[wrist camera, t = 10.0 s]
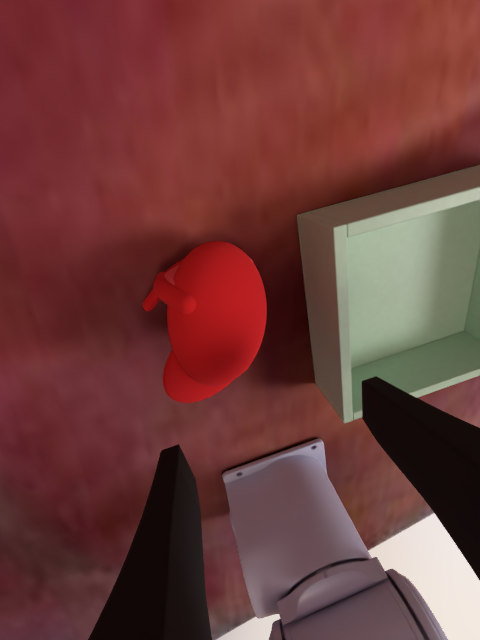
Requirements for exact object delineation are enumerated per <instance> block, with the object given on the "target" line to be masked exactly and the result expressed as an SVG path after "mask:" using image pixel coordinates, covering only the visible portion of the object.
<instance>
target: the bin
mask: <svg viewBox="0 0 480 640" xmlns="http://www.w3.org/2000/svg"><path fill="white" fill-rule="evenodd" d="M297 224H298V233H299V242H300V251H301V259H302V268H303V277H304V286H305V295H306V304H307V313H308V322H309V331H310V340H311V349H312V358H313V366H314V375H315V384H316V385H317V386H318V388H319V389H320V390H321V392H322V393H323V395H324V396H325V397H326V399H327V400H328V402H329V403H330V405H331V406H332V407H333V409H334V410H335V412H336V413H337V414H338V416H339V417H340V419H341V420H342V421H343V423H347V422H350V421H352V420H355V419H358V418H361V417H362V381H363V380H366V379H369V378H372V377H375V376H377V377H379V378H381V379H383V380H384V381H386V382H388V383H390V384H392V385H394V386H395V387H397V388H399V389H401V390H403V391H405V392H407V393H408V394H410V395H412V396H414V397H416V398H417V397H420V396H423V395H426V394H428V393H431V392H434V391H437V390H440V389H443V388H445V387H448V386H451V385H454V384H457V383H459V382H462V381H465V380H468V379H471V378H474V377H476V376H479V375H480V165H477V166H473V167H470V168H466V169H462V170H459V171H455V172H451V173H448V174H444V175H440V176H437V177H433V178H429V179H426V180H422V181H418V182H415V183H411V184H407V185H404V186H400V187H396V188H393V189H389V190H385V191H382V192H378V193H374V194H371V195H367V196H363V197H360V198H356V199H352V200H349V201H345V202H341V203H338V204H334V205H330V206H327V207H323V208H319V209H316V210H312V211H308V212H305V213H301V214H297Z"/></svg>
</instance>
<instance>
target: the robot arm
mask: <svg viewBox="0 0 480 640" xmlns="http://www.w3.org/2000/svg"><path fill="white" fill-rule="evenodd" d="M362 418H363V420H364V422H365V423H366V425H367V426H368V428H369V430H370V431H371V433H372V434H373V436H374V437H375V439H376V440H377V442H378V443H379V444H380V446H381V447H382V448H383V449H384V451H385V452H386V453H387V454H388V455H389V457H390V458H391V459H392V460H393V462H394V463H395V464H396V465H397V466H398V468H399V469H400V470H401V471H402V473H403V474H404V475H405V476H406V477H407V479H408V480H409V481H410V482H411V483H412V485H413V486H414V487H415V488H416V490H417V491H418V492H419V493H420V494H421V496H422V497H423V498H424V499H425V501H426V502H427V503H428V505H429V506H430V507H431V509H432V510H433V511H434V513H435V514H436V516H437V517H438V518H439V520H440V522H441V523H442V524H443V526H444V527H445V529H446V530H447V532H448V533H449V534H450V536H451V537H452V539H453V540H454V542H455V543H456V545H457V546H458V548H459V549H460V551H461V552H462V554H463V555H464V557H465V558H466V560H467V561H468V563H469V564H470V566H471V567H472V569H473V571H474V572H475V574H476V575H477V577H478V578H479V580H480V428H478V427H476V426H474V425H472V424H469V423H467V422H465V421H463V420H461V419H458V418H456V417H454V416H452V415H450V414H448V413H446V412H443V411H441V410H439V409H437V408H435V407H433V406H431V405H429V404H427V403H426V402H424V401H422V400H420V399H418V398H416V397H414V396H412V395H410V394H408V393H407V392H405V391H403V390H401V389H399V388H397V387H395V386H394V385H392V384H390V383H388V382H386V381H384V380H383V379H381V378H379V377H377V376H375V377H372V378H369V379H366V380H363V381H362ZM222 477H223V481H224V483H225V488H226V493H227V498H228V503H229V508H230V512H229V515H230V520H231V524H232V528H233V531H234V534H235V538H236V543H237V548H238V553H239V557H240V562H241V566H242V570H243V575H244V579H245V583H246V587H247V590H248V594H249V597H250V601H251V604H252V607H253V610H254V612H255V615H256V617H257V618H264V617H267V616H270V615H273V614H280V618H281V619H279V620H277V621H275V622H274V623H273V624H272V631H271V634H270V637H269V640H448V639H447V637H446V636H445V634H444V632H443V630H442V628H441V627H440V625H439V623H438V621H437V620H436V618H435V616H434V615H433V613H432V611H431V610H430V608H429V607H428V605H427V604H426V602H425V601H424V599H423V598H422V596H421V595H420V593H419V592H418V591H417V589H416V588H415V587H414V585H413V584H412V583H411V582H410V581H409V580H408V579H407V578H406V577H405V576H403V575H401V574H399V573H398V572H397V571H395V570H393V569H390V570H387V571H384V569H383V567H382V565H381V564H380V562H379V560H378V559H377V557H375V558H371V556H370V554H369V552H368V550H367V549H366V547H365V545H364V543H363V541H362V539H361V537H360V536H359V534H358V532H357V530H356V528H355V526H354V524H353V523H352V521H351V519H350V517H349V515H348V513H347V511H346V509H345V508H344V506H343V504H342V502H341V500H340V498H339V496H338V495H337V493H336V491H335V489H334V487H333V485H332V483H331V482H330V480H329V478H328V476H327V469H326V460H325V451H324V443H323V441H322V440H321V439H315V440H313V441H310V442H307V443H304V444H301V445H299V446H296V447H293V448H290V449H287V450H285V451H282V452H279V453H276V454H273V455H271V456H268V457H265V458H262V459H259V460H257V461H254V462H251V463H248V464H245V465H243V466H240V467H237V468H234V469H231V470H229V471H226V472H224V473H223V475H222ZM88 640H212V637H211V630H210V623H209V616H208V608H207V601H206V591H205V579H204V562H203V546H202V529H201V513H200V504H199V498H198V492H197V486H196V480H195V477H194V475H193V473H192V471H191V469H190V466H189V464H188V462H187V460H186V458H185V456H184V454H183V452H182V450H181V448H180V446H179V445H176V446H173V447H170V448H167V449H164V450H162V451H161V453H160V457H159V461H158V465H157V469H156V472H155V476H154V480H153V483H152V486H151V490H150V493H149V496H148V499H147V502H146V505H145V508H144V511H143V514H142V517H141V520H140V523H139V526H138V528H137V531H136V534H135V536H134V539H133V542H132V544H131V547H130V550H129V552H128V555H127V557H126V560H125V562H124V564H123V567H122V569H121V571H120V574H119V576H118V578H117V581H116V583H115V585H114V587H113V590H112V592H111V594H110V596H109V598H108V600H107V602H106V604H105V607H104V609H103V611H102V613H101V615H100V617H99V619H98V621H97V623H96V625H95V627H94V629H93V631H92V633H91V635H90V637H89V639H88Z"/></svg>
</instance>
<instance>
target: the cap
mask: <svg viewBox="0 0 480 640" xmlns="http://www.w3.org/2000/svg"><path fill="white" fill-rule="evenodd" d="M159 300H162V301H163V302H164V303H166V304H167V326H168V334H169V338H170V342H171V346H172V349H173V350H172V351H171V353H170V355H169V357H168V359H167V362H166V365H165V368H164V373H163V385H164V389H165V391H166V393H167V394H168V396H169V397H170V398H172V399H173V400H175V401H178V402H182V403H192V402H197V401H201V400H204V399H206V398H209V397H211V396H213V395H214V394H216V393H218V392H219V391H221V390H222V389H223V388H225V387H226V386H227V385H228V384H230V383H231V382H232V381H233V380H234V379H236V378H237V377H239V376H240V375H241V374H242V373H243V372H244V371H246V370H247V369H248V368H249V366H250V364H251V363H252V361H253V360H254V358H255V356H256V354H257V352H258V350H259V348H260V345H261V343H262V340H263V336H264V332H265V326H266V317H267V305H266V296H265V290H264V286H263V282H262V279H261V277H260V274H259V272H258V270H257V268H256V266H255V265H254V263H253V260H252V259H251V258H249V257H248V255H247V254H246V253H245V252H244V251H242V250H241V249H240V248H238V247H237V246H235V245H233V244H230V243H228V242H223V241H211V242H207V243H204V244H201V245H199V246H197V247H196V248H194V249H193V250H192V251H191V252H190V253H189V254H188V255H187V256H186V257H185V258H184V259H183V260H181V261H179V262H177V263H175V264H174V265H173V266H171V267H170V268H169V269H168V270H167V271H166V272H161V273H159V274H158V275H157V276H156V279H155V281H154V284H153V289H152V291H151V292H150V293H149V295H148V296H147V297H146V299H145V300H144V301H143V308H144V310H146V311H151V310H152V309H153V308H154V307H155V306H156V304H157V303H158V302H159Z"/></svg>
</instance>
